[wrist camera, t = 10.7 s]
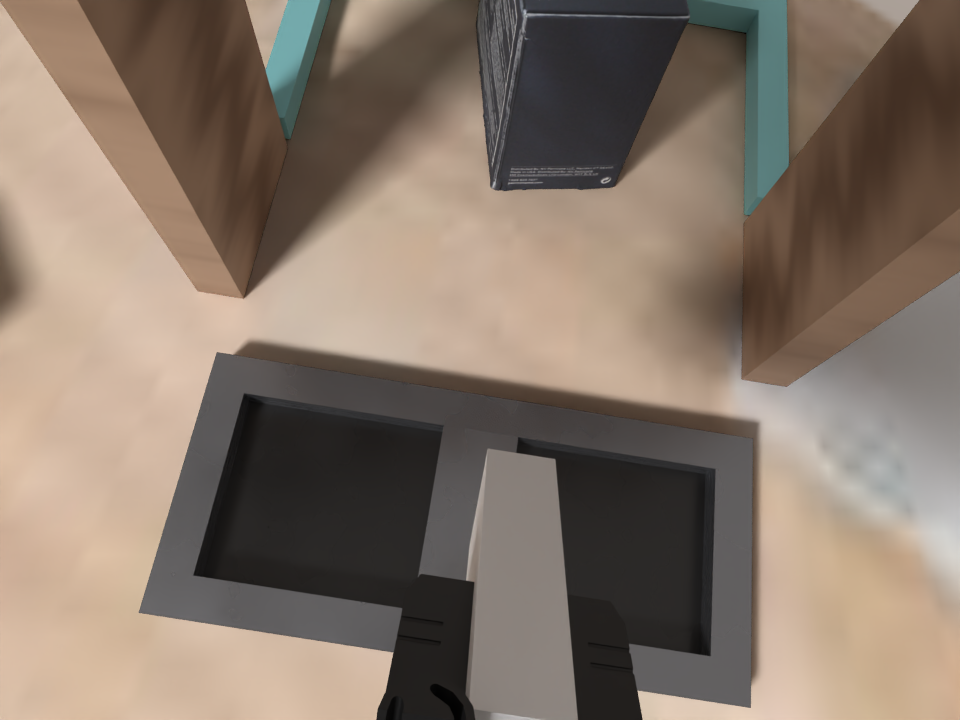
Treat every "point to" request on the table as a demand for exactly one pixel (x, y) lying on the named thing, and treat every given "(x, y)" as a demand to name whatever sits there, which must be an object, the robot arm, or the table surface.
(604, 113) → the small box
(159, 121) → the tunnel
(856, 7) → the table surface
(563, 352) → the table surface
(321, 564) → the pit plate
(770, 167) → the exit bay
